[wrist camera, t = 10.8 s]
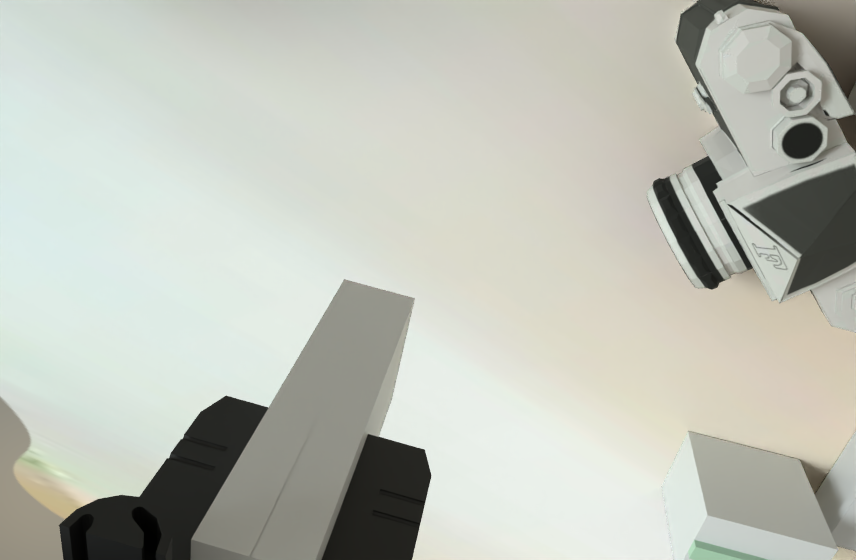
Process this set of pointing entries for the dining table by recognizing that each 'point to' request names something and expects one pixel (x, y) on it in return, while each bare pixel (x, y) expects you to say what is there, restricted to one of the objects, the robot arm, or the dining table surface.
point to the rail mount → (757, 501)
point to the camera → (764, 162)
